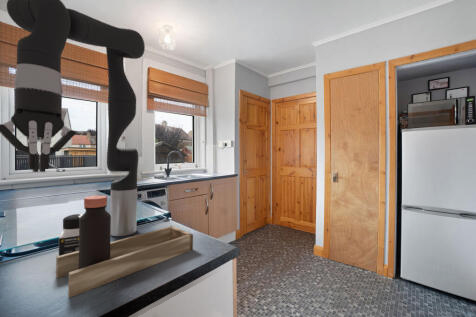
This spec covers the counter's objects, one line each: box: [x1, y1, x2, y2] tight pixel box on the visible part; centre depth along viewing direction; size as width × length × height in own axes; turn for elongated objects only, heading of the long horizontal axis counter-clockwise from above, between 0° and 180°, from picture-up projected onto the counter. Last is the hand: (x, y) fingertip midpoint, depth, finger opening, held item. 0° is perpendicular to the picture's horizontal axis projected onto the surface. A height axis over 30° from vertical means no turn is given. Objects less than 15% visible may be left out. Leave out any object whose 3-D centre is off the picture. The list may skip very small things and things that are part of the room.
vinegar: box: [79, 195, 112, 269], centre depth 56 cm, size 7×7×20 cm
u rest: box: [55, 225, 194, 298], centre depth 64 cm, size 12×33×5 cm, turn 140°
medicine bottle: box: [58, 213, 84, 256], centre depth 67 cm, size 7×7×12 cm
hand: (38, 171), depth 48 cm, fingers closed
